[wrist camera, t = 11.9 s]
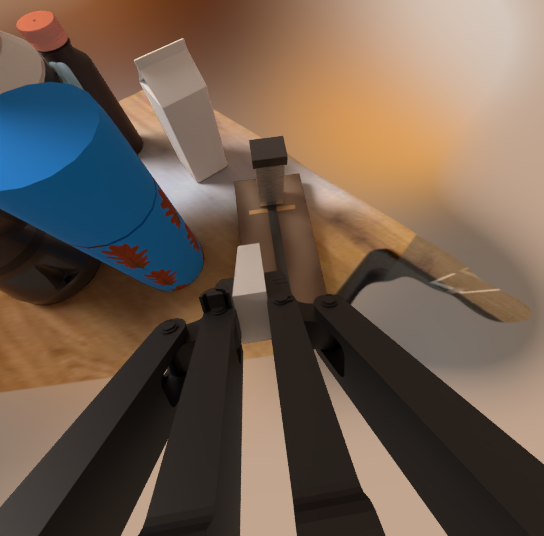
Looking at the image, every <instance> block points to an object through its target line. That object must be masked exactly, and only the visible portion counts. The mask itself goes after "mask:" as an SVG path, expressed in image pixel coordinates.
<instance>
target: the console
mask: <svg viewBox="0 0 544 536" xmlns="http://www.w3.org/2000/svg"><path fill="white" fill-rule="evenodd" d="M234 184H235V194H236V203H237V213H238V223H239V232H240V242H241V246H242V245H249V244H256V243H259V245H260V252H261V258H262V265H263V271H264V273H265V272H271V271H278V270H281V271H282V272H284V273H285V275H286V278H287V281H288V284H289V287H290V290H291V293H292V295H293V296H294V297H295V298H296V300H297V301H299V302H303V303H314V299H315V298H316V297H318V296H320V295H325V294H327V293H326V289H325V284H324V280H323V276H322V271H321V267H320V262H319V258H318V254H317V249H316V245H315V241H314V236H313V232H312V228H311V223H310V219H309V214H308V210H307V206H306V201H305V197H304V193H303V188H302V184H301V179H300V175H299V174H292V175H284V191H283V204H275V205H268V206H260V203H259V196H258V189H257V181H256V179H254V180H246V181H238V182H234Z"/></svg>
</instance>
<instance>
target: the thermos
mask: <svg viewBox="0 0 544 536" xmlns="http://www.w3.org/2000/svg"><path fill="white" fill-rule="evenodd" d="M0 209H2V210H4V211H5V212H7V213H9V214H11V215H13V216H15V217H17V218H19V219H21V220H23V221H25V222H27V223H29V224H30V225H32V226H34V227H36V228H38V229H40V230H42V231H44V232H46V233H48V234H50V235H52V236H54V237H56V238H57V239H59V240H61V241H63V242H65V243H67V244H69V245H71V246H73V247H75V248H77V249H79V250H81V251H83V252H84V253H86V254H88V255H90V256H92V257H94V258H96V259H98V260H100V261H102V262H104V263H106V264H108V265H109V266H111V267H113V268H115V269H117V270H119V271H121V272H123V273H125V274H127V275H129V276H131V277H133V278H135V279H136V280H138V281H140V282H142V283H144V284H146V285H149V286H151V287H154V288H156V289H160V290H165V291H173V290H180V289H182V288H184V287H186V286H188V285H189V284H191V283H192V282H193V281H194V280H195V279H196V278H197V277H198V275H199V273H200V271H201V269H202V268H203V261H204V255H203V251H202V248H201V246H200V244H199V242H198V241H197V239H196V237H195V236H194V234H193V233H192V232H191V230H190V229H189V227H188V226H187V225H186V223H185V222H184V220H183V219H182V218H181V216H180V215H179V213H178V212H177V210H176V209H175V208H174V206H173V205H172V203H171V202H170V201H169V199H168V198H167V196H166V195H165V194H164V192H163V191H162V189H161V188H160V187H159V185H158V184H157V182H156V181H155V180H154V178H153V177H152V175H151V174H150V173H149V171H148V170H147V168H146V167H145V165H144V164H143V163H142V161H141V160H140V158H139V157H138V156H137V154H136V153H135V151H134V150H133V149H132V147H131V146H130V144H129V143H128V142H127V140H126V139H125V137H124V136H123V135H122V133H121V132H120V130H119V129H118V128H117V126H116V125H115V124H114V122H113V121H112V120H111V118H110V117H109V116H108V115H107V113H106V112H105V111H104V110H103V109H102V108H101V106H100V105H99V104H98V103H97V102H96V101H95V100H94V99H93V97H92V96H91V95H90V94H89V93H88V92H87V91H85V90H82V89H80V88H78V87H76V86H74V85H72V84H65V83H56V82H45V83H37V84H29V85H25V86H22V87H19V88H16V89H13V90H10V91H7V92H4V93H1V94H0Z"/></svg>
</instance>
